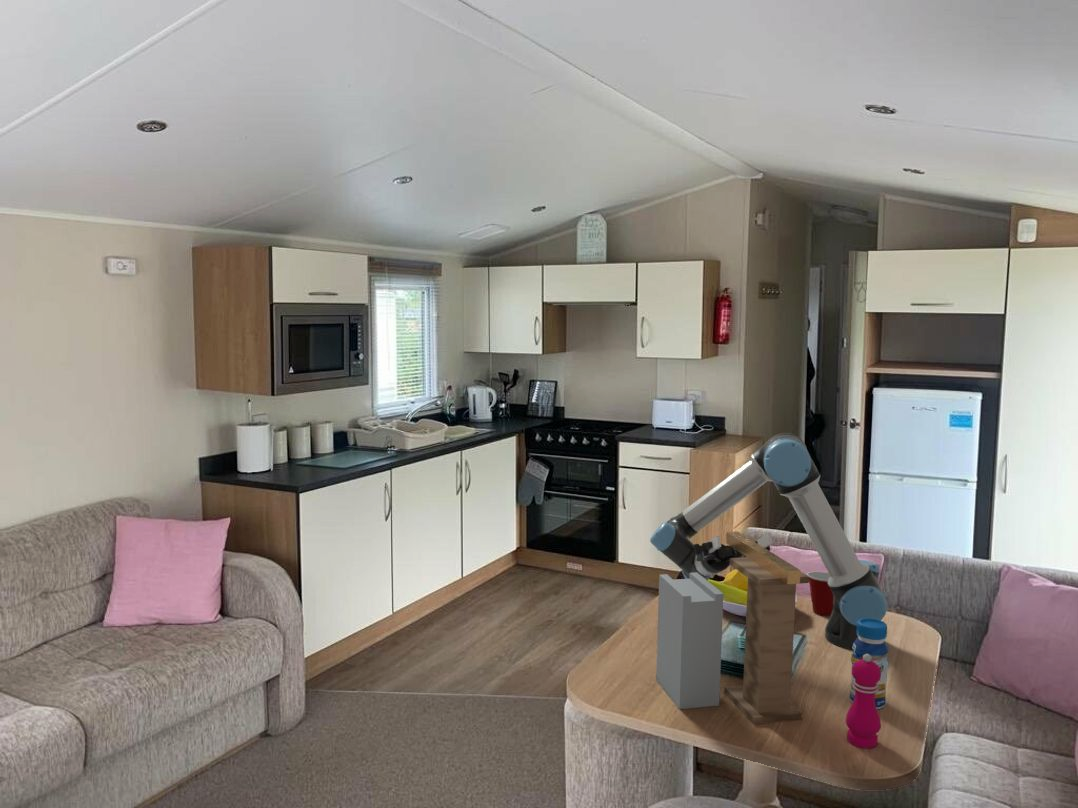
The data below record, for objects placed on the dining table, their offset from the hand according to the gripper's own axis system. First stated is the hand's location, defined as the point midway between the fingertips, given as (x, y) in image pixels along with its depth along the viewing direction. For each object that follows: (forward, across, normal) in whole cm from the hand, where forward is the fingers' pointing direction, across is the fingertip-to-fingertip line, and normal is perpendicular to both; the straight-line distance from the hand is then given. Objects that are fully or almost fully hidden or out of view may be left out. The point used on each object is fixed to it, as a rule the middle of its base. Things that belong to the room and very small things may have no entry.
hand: (744, 539), depth 215 cm
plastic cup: (-54, -47, -12) cm, 73 cm away
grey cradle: (-16, +15, -33) cm, 40 cm away
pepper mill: (+9, -14, -48) cm, 51 cm away
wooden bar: (+6, 0, -7) cm, 9 cm away
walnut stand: (-8, 0, -38) cm, 39 cm away
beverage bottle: (-5, -26, -40) cm, 48 cm away
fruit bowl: (-60, -25, -9) cm, 65 cm away
